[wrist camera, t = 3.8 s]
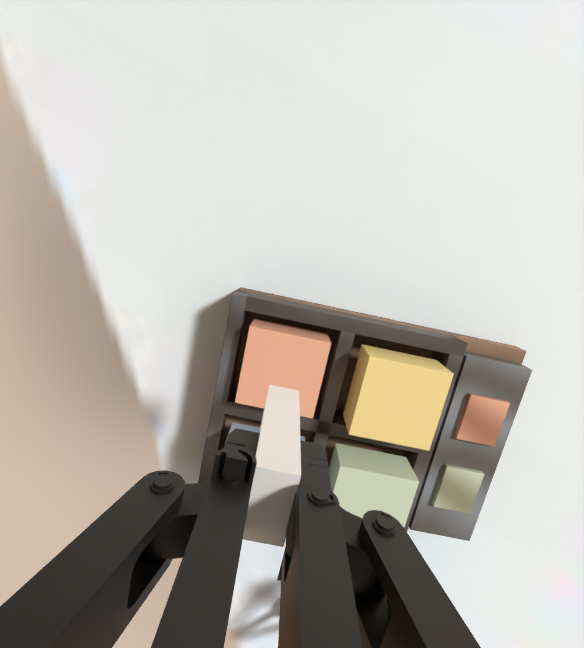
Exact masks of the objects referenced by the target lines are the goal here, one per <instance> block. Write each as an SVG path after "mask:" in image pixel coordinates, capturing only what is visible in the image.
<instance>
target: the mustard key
mask: <svg viewBox="0 0 584 648" xmlns="http://www.w3.org/2000/svg"><path fill="white" fill-rule="evenodd" d="M453 375H454V373H452V372H451V371H450V370H448V369H447V368H446V367H445V366H443V365H442V364H441V363H440V362H438V361H437V360H434V359H430V358H425V357H420V356H415V355H411V354H406V353H401V352H396V351H392V350H387V349H382V348H378V347H373V346H368V345H363V344H361V348H360V351H359V355H358V359H357V363H356V367H355V370H354V374H353V378H352V382H351V386H350V390H349V393H348V397H347V401H346V405H345V409H344V412H343V416H344V420H345V423H346V427H347V430H348V434H349V435H354V436H359V437H364V438H369V439H374V440H379V441H384V442H388V443H393V444H398V445H403V446H408V447H413V448H418V449H423V450H428V451H429V450H430V447H431V444H432V440H433V437H434V434H435V431H436V428H437V425H438V422H439V419H440V416H441V413H442V409H443V406H444V403H445V400H446V397H447V394H448V391H449V388H450V385H451V381H452V378H453Z"/></svg>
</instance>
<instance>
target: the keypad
mask: <svg viewBox="0 0 584 648" xmlns="http://www.w3.org/2000/svg"><path fill="white" fill-rule="evenodd" d="M254 318H258V319H263V320H268V321H273V322H277V323H282V324H287V325H291V326H296V327H301V328H306V329H310V330H315V331H320V332H325V333H328V336H329V338H330V341H331V347H330V351H329V355H328V359H327V363H326V367H325V371H324V375H323V379H322V384H321V388H320V392H319V396H318V400H317V404H316V408H315V412H314V416H313V418H308V417H303V416H300V436H304V437H305V441H307V442H312V443H317V444H320V445H321V446H322V447H323V449H324V450H325V451H326V455H327V462H328V469H329V466H330V462H331V458H332V454H333V450H334V447H335V443H338V444H343V445H348V446H353V447H358V448H363V449H368V450H373V451H378V452H383V453H388V454H393V455H398V456H403V457H406V458H407V460H408V462H409V463H410V465H411V467H412V469H413V471H414V473H415V475H416V476H417V478H418V480H419V484H418V487H417V490H416V493H415V496H414V499H413V503H412V506H411V509H410V512H409V515H408V518H407V521H406V524H405V527H404V529H405V530H406V532H407V529H408V526H409V527H410V529H411V530H416V531H421V532H426V533H432V534H437V535H442V536H447V537H452V538H457V539H463V540H468V541H470V538H471V535H472V532H473V530H474V527H475V524H476V522H477V519H478V516H479V513H480V511H481V508H482V505H483V502H484V500H485V497H486V494H487V492H488V489H489V486H490V483H491V481H492V478H493V475H494V473H495V470H496V467H497V464H498V462H499V459H500V456H501V454H502V451H503V448H504V445H505V443H506V440H507V437H508V434H509V432H510V429H511V426H512V424H513V421H514V418H515V415H516V413H517V410H518V407H519V405H520V402H521V399H522V396H523V394H524V391H525V388H526V386H527V383H528V380H529V377H530V375H531V372H532V370H531V369H529V368H527V367H525V366H523V365H521V364H522V362H523V359H524V356H525V353H526V351H525V350H522V349H520V348H518V347H516V346H512V345H507V344H502V343H498V342H493V341H488V340H484V339H479V338H474V337H470V336H465V335H460V334H456V333H451V332H446V331H442V330H437V329H432V328H428V327H423V326H419V325H414V324H409V323H405V322H400V321H395V320H391V319H386V318H381V317H377V316H372V315H367V314H363V313H358V312H353V311H349V310H344V309H339V308H335V307H330V306H325V305H321V304H316V303H311V302H307V301H302V300H297V299H293V298H288V297H283V296H279V295H274V294H269V293H265V292H260V291H255V290H251V289H246V288H240V289H238V290H237V291H235V292H234V293H233V295H232V300H231V306H230V311H229V317H228V322H227V328H226V333H225V339H224V344H223V350H222V355H221V361H220V366H219V372H218V377H217V382H216V388H215V393H214V399H213V404H212V410H211V415H210V421H209V426H208V432H207V437H206V443H205V448H204V454H203V459H202V465H201V470H200V476H199V481H198V483H201V482H205V481H207V480H208V479H210V478H211V476H212V470H213V465H214V460H215V455H216V453H217V452H218V451H219V450H221V449H223V448H224V446H225V443H226V440H227V437H228V434H229V431H230V429H231V426H232V423H233V422H234V423H239V424H244V425H249V426H254V427H259V428H260V425H261V421H262V416H263V411H264V408H259V407H254V406H249V405H244V404H239V403H235V399H236V394H237V389H238V384H239V378H240V373H241V368H242V363H243V358H244V353H245V348H246V343H247V338H248V332H249V327H250V325H251V323H252V321H253V320H254ZM361 344H363V345H368V346H373V347H378V348H382V349H387V350H392V351H396V352H401V353H406V354H411V355H415V356H420V357H425V358H430V359H434V360H437V361H438V362H440V363H441V364H442V365H443V366H445V367H446V368H447V369H448V370H450V371H451V372H452V373H454V375H453V378H452V381H451V385H450V388H449V391H448V394H447V397H446V400H445V403H444V406H443V409H442V413H441V416H440V419H439V422H438V425H437V428H436V431H435V434H434V437H433V440H432V444H431V447H430V450H429V451H428V450H423V449H418V448H413V447H408V446H403V445H398V444H393V443H388V442H384V441H379V440H374V439H369V438H364V437H359V436H354V435H349V434H348V430H347V427H346V423H345V420H344V416H343V412H344V409H345V405H346V401H347V397H348V393H349V390H350V386H351V382H352V378H353V374H354V370H355V367H356V363H357V359H358V355H359V351H360V348H361Z"/></svg>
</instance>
